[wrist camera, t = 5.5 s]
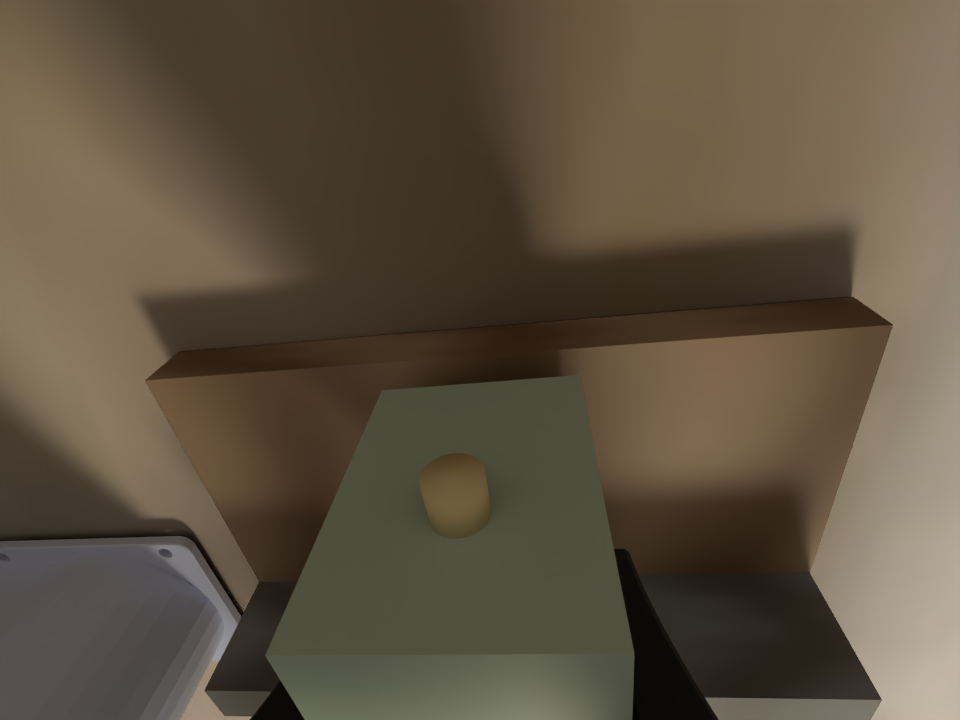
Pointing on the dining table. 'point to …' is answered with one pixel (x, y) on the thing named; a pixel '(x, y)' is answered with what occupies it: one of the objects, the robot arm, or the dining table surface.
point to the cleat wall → (621, 465)
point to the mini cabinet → (464, 567)
